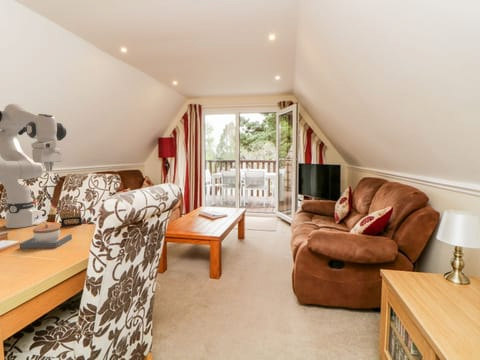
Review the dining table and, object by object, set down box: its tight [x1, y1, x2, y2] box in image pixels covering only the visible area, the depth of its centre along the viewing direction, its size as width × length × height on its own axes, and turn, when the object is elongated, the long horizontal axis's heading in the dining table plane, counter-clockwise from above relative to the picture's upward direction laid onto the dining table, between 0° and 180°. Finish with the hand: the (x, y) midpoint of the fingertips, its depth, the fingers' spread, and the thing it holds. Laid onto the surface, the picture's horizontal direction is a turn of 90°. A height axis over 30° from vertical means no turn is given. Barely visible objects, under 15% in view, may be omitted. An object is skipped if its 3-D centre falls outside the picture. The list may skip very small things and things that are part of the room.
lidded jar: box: [32, 224, 61, 242], centre depth 133 cm, size 11×11×9 cm
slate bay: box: [19, 233, 73, 250], centre depth 134 cm, size 14×16×2 cm
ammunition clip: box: [60, 205, 83, 228], centre depth 168 cm, size 11×2×12 cm, turn 116°
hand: (49, 170), depth 149 cm, fingers closed
